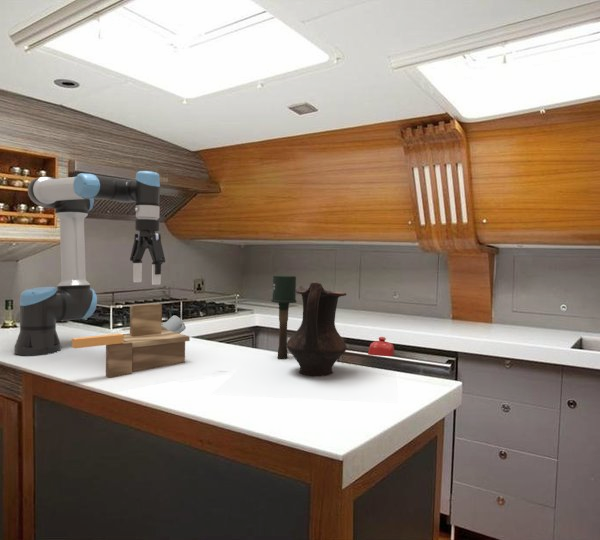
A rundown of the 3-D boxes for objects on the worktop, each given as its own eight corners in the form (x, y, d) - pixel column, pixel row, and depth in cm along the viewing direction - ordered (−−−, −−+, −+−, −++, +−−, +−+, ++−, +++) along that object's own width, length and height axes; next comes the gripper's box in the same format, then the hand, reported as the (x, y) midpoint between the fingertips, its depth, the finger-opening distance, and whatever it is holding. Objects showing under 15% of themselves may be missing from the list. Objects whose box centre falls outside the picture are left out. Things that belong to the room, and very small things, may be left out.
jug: (291, 368, 164) (293, 277, 163) (347, 372, 161) (350, 279, 160) (278, 385, 143) (280, 280, 142) (342, 389, 140) (345, 283, 139)
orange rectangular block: (71, 347, 141) (71, 338, 141) (120, 341, 151) (120, 333, 151) (74, 348, 139) (74, 339, 139) (123, 343, 149) (123, 334, 149)
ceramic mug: (168, 342, 212) (156, 328, 212) (183, 330, 217) (172, 316, 216) (174, 337, 203) (162, 322, 203) (190, 325, 208) (178, 311, 208)
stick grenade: (281, 358, 178) (283, 274, 177) (299, 362, 173) (302, 276, 171) (264, 362, 171) (266, 275, 170) (283, 366, 166) (285, 276, 165)
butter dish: (399, 358, 185) (400, 335, 185) (395, 365, 174) (396, 340, 174) (368, 355, 189) (369, 333, 188) (362, 362, 178) (363, 338, 177)
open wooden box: (88, 367, 158) (89, 337, 157) (164, 357, 176) (164, 330, 175) (109, 377, 146) (109, 345, 146) (187, 365, 164) (188, 336, 164)
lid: (109, 342, 163) (110, 304, 163) (165, 336, 177) (166, 301, 176) (131, 350, 151) (131, 309, 151) (189, 343, 165) (190, 306, 165)
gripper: (120, 219, 171) (119, 281, 172) (154, 217, 153) (153, 286, 154) (141, 220, 176) (140, 281, 177) (176, 218, 158) (175, 285, 159)
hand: (146, 283), depth 165 cm, fingers open, 13 cm apart
